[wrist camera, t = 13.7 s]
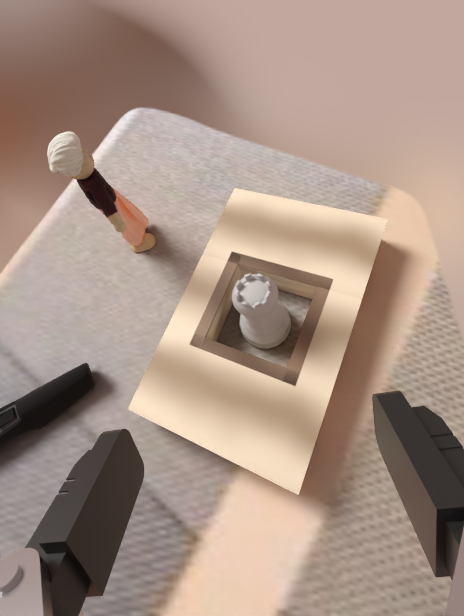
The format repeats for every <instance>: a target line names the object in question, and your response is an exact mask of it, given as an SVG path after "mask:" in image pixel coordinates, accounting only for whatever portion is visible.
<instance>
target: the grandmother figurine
mask: <svg viewBox="0 0 464 616" xmlns="http://www.w3.org/2000/svg"><path fill="white" fill-rule="evenodd" d="M47 155H48V160H49V165H50V170H51V171H52V172H53V173H59V172H61V173H62V174H63V175H65V176H70V177H72V178H74V179H77V182H78V184H79V186H80V187H81V189H82V190H83V192H84V193H85V195H86V197H87V198H88V199H89V201H90V202H91V204H93V205H94V206H95V207H96V208H97V209H99V210H100V211H101V212H102V213H103V214H104V215H105V216H106V217H107V218H108V219H109V221H110V222H111V223H112V224H113V225H114V228H115V229H116V231H118V232H121V233H122V235H123V237H124V238H125V239H126V240H127V241H128V242H129V243H130V244H131V248H132V250H133V251H134V252H136V253H138V252H142V251H145V250H149V249H151V248H152V247H153V246H154V245H155V242H156V240H155V237H154V236H153V235H152V234H150V233H145V230H146V228H147V227H148V224H149V223H148V219H147V217H146V216H145V215H144V214H143V213H142V212H141V211H140V210H139V209H138V208H137V207H136V206H135V205H134V204H132V203H131V202H130V201H129V200H127V199H126V198H125V197H124V196H122V195H121V194H120V193H119V192H117V191H116V190H115V189H113V188H112V187H111V186H110V185H109V184H108V183H107V182H106V181H105V179H104V178H103V177H102V176H101V174H100V173H99V172H98V171H97V170H96V169H95V168H94V160H93V157H92V155H91V154H90V152H89V151H88V150H87V149H85V148H84V147H82V146H81V145H80V139H79V138H78V136H77V135H76V134H75V133H73V132H65V133H62V134H59V135H57V136H56V137H55V138H54V139H53V140H52V141H51V142H50V144H49V146H48V153H47Z"/></svg>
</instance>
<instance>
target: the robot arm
mask: <svg viewBox="0 0 464 616" xmlns="http://www.w3.org/2000/svg"><path fill="white" fill-rule="evenodd" d="M372 399H373V412H374V424H375V434H376V439H377V443H378V447H379V450H380V452H381V455H382V457H383V459H384V462H385V464H386V466H387V468H388V471H389V473H390V475H391V478H392V480H393V482H394V484H395V487H396V489H397V491H398V493H399V496H400V498H401V500H402V502H403V505H404V507H405V509H406V511H407V514H408V516H409V518H410V520H411V523H412V525H413V527H414V530H415V532H416V534H417V536H418V539H419V541H420V543H421V545H422V548H423V550H424V552H425V554H426V557H427V559H428V561H429V563H430V566H431V568H432V570H433V572H434V575H435V577H445V576H450V577H451V579H452V586H451V591H450V595H449V600H448V605H447V610H446V614H445V616H464V449H463V447H462V445H461V444H460V442H459V441H458V440H457V438H456V437H455V436H453V433H452V432H451V430H450V429H449V427H448V426H447V425H446V423H445V422H444V421H443V419H442V418H441V417H439V416H438V415H437V414H435V413H434V412H432V411H431V410H429V409H428V408H426V407H425V406H419V407H412V408H411V406H410V405H409V403H408V402H407V400H406V399H405V397H404V395H403V394H402V393H401V392H400V391H392V392H385V393H378V394H373V397H372ZM143 478H144V464H143V461H142V458H141V456H140V454H139V452H138V450H137V447H136V445H135V443H134V441H133V439H132V437H131V435H130V433H129V431H128V430H127V429H121V430H114V431H107V432H103V433H102V434H101V435H100V436H99V438H98V440H97V442H96V443H95V445H94V447H93V449H92V450H88V451H87V452H86V453H85V454H84V456H83V457H82V458H81V459H80V460H79V461H78V462H77V463H76V464H75V465H74V467H73V469H72V470H71V472H70V474H69V475H68V477H67V479H66V480H67V481H66V482H64V484H63V485H62V487H61V489H60V490H59V495H57V496H56V497H55V499H54V501H53V502H52V504H51V506H50V507H49V509H48V511H47V512H46V514H45V516H44V517H43V519H42V521H41V522H40V524H39V526H38V527H37V529H36V531H35V532H34V534H33V536H32V537H31V539H30V541H29V542H28V544H27V546H26V547H25V548H23V549H20V550H18V551H15V552H13V553H12V554H10V555H9V556H7V557H6V558H4V559H3V560H2V561H1V562H0V616H84V614H83V612H82V610H81V608H82V606H83V603H84V600H85V598H86V597H91V596H103V593H104V590H105V587H106V584H107V581H108V579H109V576H110V573H111V570H112V567H113V564H114V561H115V559H116V556H117V553H118V550H119V547H120V544H121V542H122V539H123V536H124V533H125V530H126V527H127V524H128V522H129V519H130V516H131V513H132V510H133V507H134V504H135V502H136V499H137V496H138V493H139V490H140V487H141V485H142V482H143Z"/></svg>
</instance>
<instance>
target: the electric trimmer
mask: <svg viewBox="0 0 464 616" xmlns="http://www.w3.org/2000/svg"><path fill="white" fill-rule="evenodd" d="M94 387H95V382H94V380H93V377H92V374H91V371H90V368H89V365H88V364H87V363H84V364H82V365H80V366H78V367H76V368H74V369H73V370H71V371H69V372H67V373H65V374H63V375H61V376H60V377H58V378H56V379H54V380H52V381H50V382H48V383H47V384H45V385H43V386H41V387H39V388H37V389H35V390H34V391H32V392H30V393H29V394H27V395H25V396H24V397H22V398H20V399H18V400H16V401H14V402H12V403H10V404H8V405H6V406H4V407H2V408H0V446H1V445H2V444H4V443H6V442H7V441H9V440H10V439H12V438H14V437H15V436H17V435H19V434H21V433H23V432H25V431H29V430H33V429H38V428H42V427H44V426H45V425H47V424H48V423H49V422H51V421H52V420H54V419H55V418H56V417H57V416H59V415H60V414H61V413H62V412H64V411H65V410H66V409H67V408H69V407H70V406H71V405H73V404H74V403H75V402H76V401H78V400H79V399H80V398H81V397H83V396H84V395H85V394H86V393H88V392H89V391H90V390H91V389H93V388H94Z"/></svg>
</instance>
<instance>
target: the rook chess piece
mask: <svg viewBox="0 0 464 616" xmlns="http://www.w3.org/2000/svg"><path fill="white" fill-rule="evenodd" d="M278 292H279V291H278V289H277V286H276V283H275V282H274V281H273V280H272V279H271V278H270V277H267V276H265V275H262V274H260V273H258V274H251V273H249V274H246V275H244V277H243V278H242V279H241V280H240V281H239V280H238V281H237V283H236V285H235V287H234V289H233V291H232V302H233V305H234V307H235V308H236V310H237V311H238V312H239V313H240V314H241V315H240V324H239V325H240V328H241V331H242V334H243V337H244V338H245V339H246V340H247V341H248V342H249V343H250V344H251V345H254V346H256V347H258V348H272V347H275V346H278V345H279V344H280V343H282V342H283V341H284V340H285V339H286V338H287V336H288V334H289V332H290V330H291V318H290V316H289V313H288V311H287V308H286V307H285V306H284V305H283V304H282V303H281V302H280V301H279V300H278Z"/></svg>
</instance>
